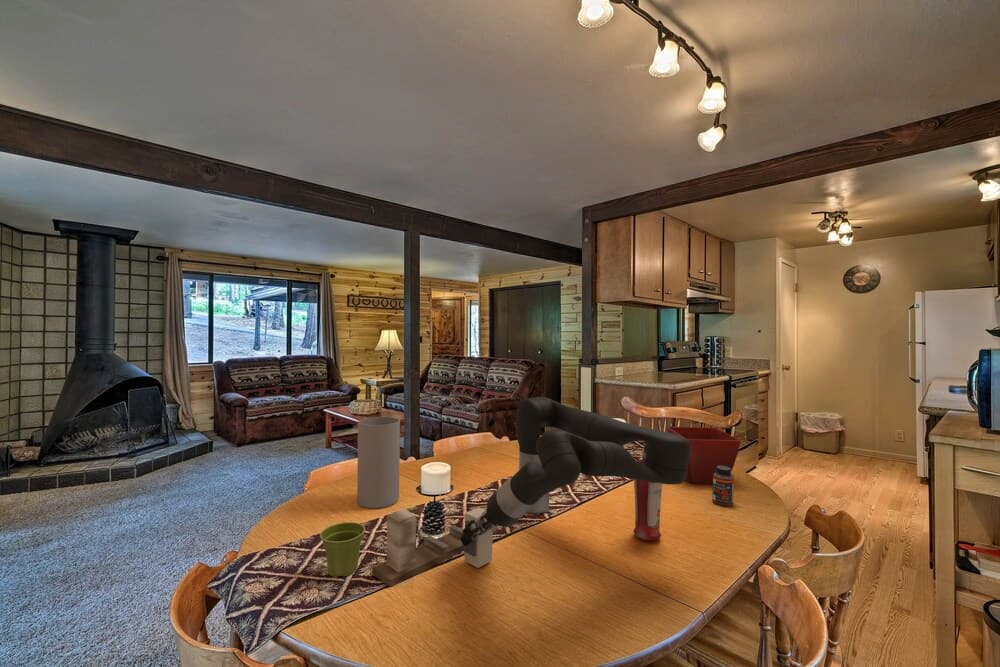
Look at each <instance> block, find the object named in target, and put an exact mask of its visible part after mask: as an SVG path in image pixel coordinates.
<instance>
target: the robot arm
mask: <svg viewBox="0 0 1000 667" xmlns="http://www.w3.org/2000/svg"><path fill="white" fill-rule="evenodd" d="M515 416H516V417H515V418H516V438H517V442H518V447H519V450H518V452H519V453H518V457H519V458H518V461H519V462H518V464H519V465H518V471H517V472H515V474H513V475H512V476H511V477H510V478H507V480H506V481H505V482H503V483H502V485H500V487H498V489H497V490H495V491H494V492H493V493H492V494H491V495H490V496H489V497H488V499H487V501H486V509H484V510H485V511H484V512H483V513H482V514H481V516H480V517H478V518H477V519H476V520H471V521H470V522H469V523H468V524H467V526H466V527H465V526H464V528H463V531H462V532H463V535H462V536H461V537H460V540H461V542H462V544H463V545H464V546H467V545H468V544H469V543H470V542H471V541H472V540H474V539H475V538H476V537H478V536H481V535H484V534H485V533H487V532H488V531H489V530H491V529H493V530H494V531H495V530H497V529H498V528H500V527H503V528H510V527H512V526H513V525H514V524H515V523H517V522H518V521H519V519H521V518H522V517H523V516H525V515H526V514H543V513H550V493H551V492H553V491H555V490H557V489H559V488H563V487H565V486H569V485H571V484H573V483H575V482H576V481H578V478H579V477H580V474H581V475H583V476H587V477H619V478H626V479H631V480H634V479H635V480H641V481H648V482H654V483H661V484H662V485H673V486H675V485H680V484H682V483H684V482H685V481H686V479H685V478H686V475H687V469H688V463H689V457H690V450H691V444H690V442H689V441H688V440H687V439H686V438H684V437H681V436H679V435H675V434H672V433H668V432H667V431H662V430H659V429H653V428H649V427H645V426H640V425H636V424H632V423H629V422H624V421H621V420H618V419H616V418H615V419H614V418H612V417H609V416H607V415H603V414H599V413H596V412H593V411H589V410H584V409H580V408H575V407H571V406H568V405H565V404H562V403H561V402H559V401H556V400H553V399H551V398H549V397H547V396H537V397H529V398H524V399H522V400H520V401H519V403H518V405H517V407H516V415H515ZM542 428H554V429H557V430H550V431H549V430H548V431H546V432H544V433H542V434H540V429H542ZM641 441H642V442H644V441H645V442H647V443H648V446H647V452H646V458H645V466H643V465H641V464H640V463H639V462H637V461H638V460H637V459H636V458H635V457H634V456H633V455H632V454H631V453H629V451H628V450H627V449H625V448H624V447H623V445H627V444H630V443H636V442H641ZM481 526H482V528H483V529H485V530H484V531H483V530H482V528H481Z"/></svg>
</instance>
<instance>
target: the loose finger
mask: <svg viewBox="0 0 1000 667" xmlns="http://www.w3.org/2000/svg"><path fill="white" fill-rule="evenodd" d="M485 510H486V509H484V508H481V507H477V508H475V509H472V510H469V511H467V512H464V513H465V516H464V522H465V523H464V528H465V527H466V526H467V524H468V523H469V522H470V521H471V520H476V519H477V518H478V517H480V516H481V514H482V513H483V512H484V511H485ZM481 528H482V526H481ZM482 530H483V531H484V530H485V529H483V528H482ZM463 554H464V556H463V557H464V558H463V559H464V562H466V563H468V564H470V565H472V566H473V567H475V568H477V569H479V568H481V567H482V566H485V565H487V564H488V563H490V562H491V561H493V529H491V530H489V531H488V532H487V533H485V534H484V535H481V536H478V537H476V538H475V539H474V540H472V541H471V542H470V543H469V544H468V545H467V546H465V550H464V553H463Z"/></svg>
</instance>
